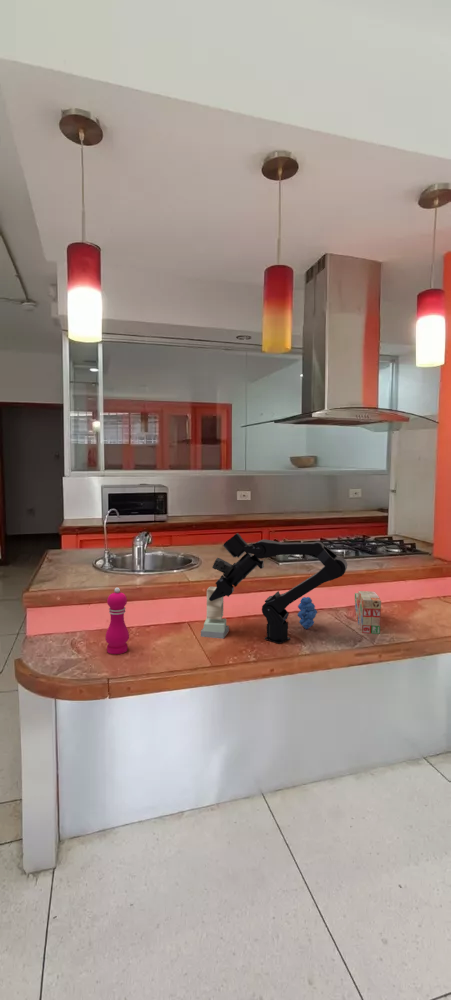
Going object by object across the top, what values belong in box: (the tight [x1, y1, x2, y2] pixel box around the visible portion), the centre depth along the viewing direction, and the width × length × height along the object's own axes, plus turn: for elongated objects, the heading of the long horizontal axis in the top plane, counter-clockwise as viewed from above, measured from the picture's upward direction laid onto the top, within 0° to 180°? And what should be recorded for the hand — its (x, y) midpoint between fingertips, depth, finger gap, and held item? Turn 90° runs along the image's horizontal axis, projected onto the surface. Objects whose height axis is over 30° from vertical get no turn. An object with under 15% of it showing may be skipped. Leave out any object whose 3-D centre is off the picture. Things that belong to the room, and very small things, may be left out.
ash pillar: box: [206, 586, 224, 619], centre depth 162 cm, size 5×5×10 cm
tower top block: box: [203, 617, 227, 632], centre depth 162 cm, size 7×7×2 cm
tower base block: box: [200, 624, 230, 640], centre depth 163 cm, size 8×8×2 cm
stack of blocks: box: [354, 590, 382, 635], centre depth 175 cm, size 21×6×12 cm, turn 172°
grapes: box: [297, 596, 318, 630], centre depth 169 cm, size 12×7×12 cm, turn 15°
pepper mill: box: [104, 587, 130, 655], centre depth 146 cm, size 7×7×20 cm
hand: (211, 597), depth 162 cm, fingers closed on ash pillar, 5 cm apart
